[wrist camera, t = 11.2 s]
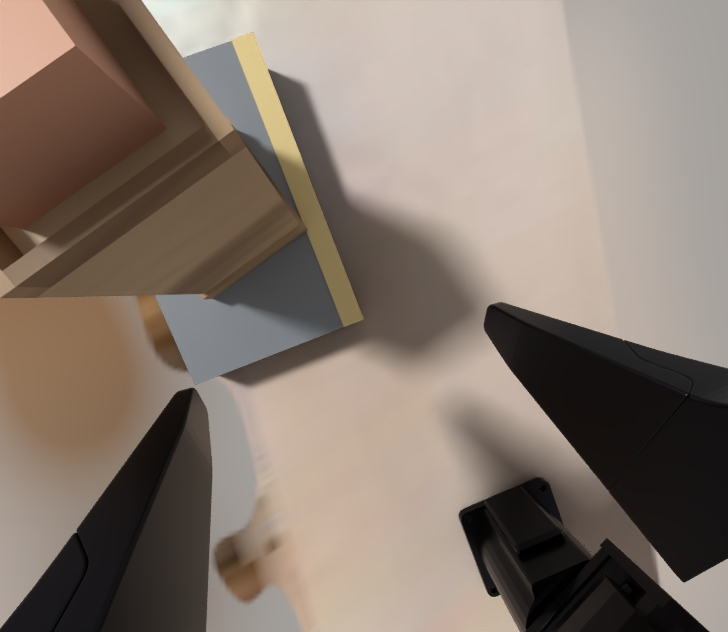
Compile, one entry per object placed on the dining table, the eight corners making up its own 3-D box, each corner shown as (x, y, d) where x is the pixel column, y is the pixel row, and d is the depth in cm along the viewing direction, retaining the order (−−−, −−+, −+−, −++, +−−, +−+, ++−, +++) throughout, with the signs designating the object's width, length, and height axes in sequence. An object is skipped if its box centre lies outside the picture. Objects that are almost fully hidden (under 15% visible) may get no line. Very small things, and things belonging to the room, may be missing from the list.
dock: (361, 316, 21) (363, 319, 18) (212, 373, 20) (194, 385, 18) (265, 67, 19) (253, 31, 17) (103, 123, 19) (65, 96, 16)
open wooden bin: (308, 230, 17) (247, 131, 7) (212, 299, 17) (-2, 311, 7) (234, 128, 17) (39, -160, 6) (135, 199, 17) (-236, 37, 6)
